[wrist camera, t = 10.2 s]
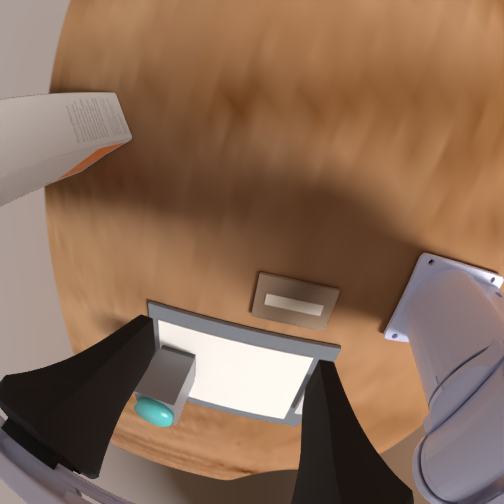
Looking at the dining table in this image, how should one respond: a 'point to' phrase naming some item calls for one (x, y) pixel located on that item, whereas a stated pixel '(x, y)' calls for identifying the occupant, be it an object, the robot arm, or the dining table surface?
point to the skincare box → (55, 137)
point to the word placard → (294, 301)
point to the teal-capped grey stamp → (165, 386)
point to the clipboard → (242, 364)
